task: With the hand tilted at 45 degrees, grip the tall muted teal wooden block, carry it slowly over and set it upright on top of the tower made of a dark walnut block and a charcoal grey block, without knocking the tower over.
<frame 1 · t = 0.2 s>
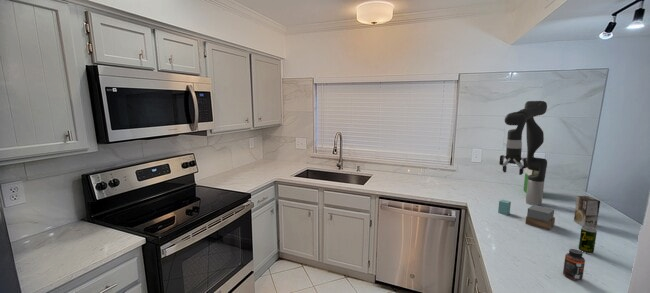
hand: (512, 173, 164), 29 cm above the worktop, tool pointing down, fingers open, 8 cm apart
tower top: (540, 217, 159), point 5 cm above the worktop, touching tower bottom
supplement bottle: (572, 277, 111), on the worktop
tower bottom: (539, 225, 160), on the worktop, touching tower top
teal block: (503, 213, 177), on the worktop
coffee box: (584, 224, 159), on the worktop
beer can: (585, 251, 130), on the worktop
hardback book: (531, 194, 215), on the worktop
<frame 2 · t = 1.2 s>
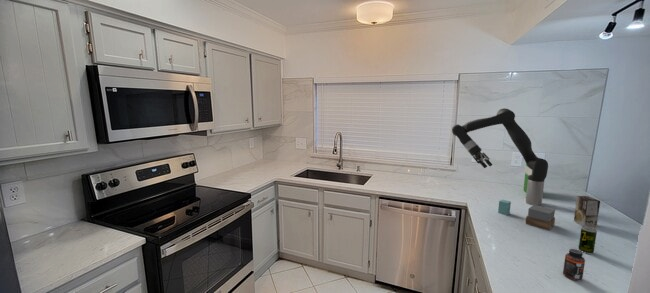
hand: (488, 166, 184), 29 cm above the worktop, tool tilted 45°, fingers open, 8 cm apart
nothing on the worktop moved.
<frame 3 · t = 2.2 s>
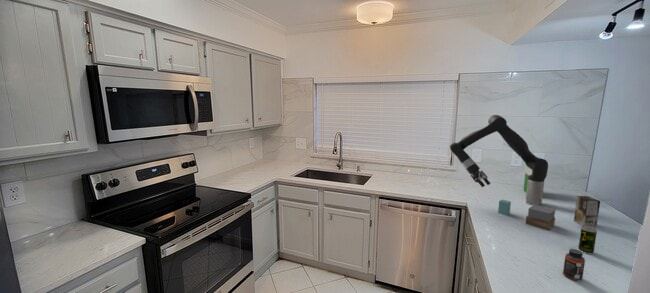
hand: (486, 185, 184), 16 cm above the worktop, tool tilted 45°, fingers open, 8 cm apart
nothing on the worktop moved.
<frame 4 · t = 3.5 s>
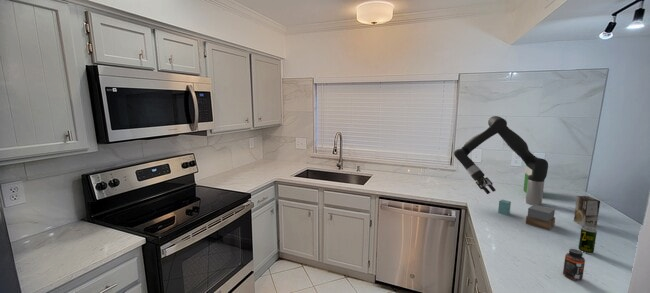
hand: (491, 192, 182), 12 cm above the worktop, tool tilted 45°, fingers open, 8 cm apart
tower top: (540, 216, 159), point 5 cm above the worktop
tower bottom: (539, 224, 160), on the worktop
everything else where it was.
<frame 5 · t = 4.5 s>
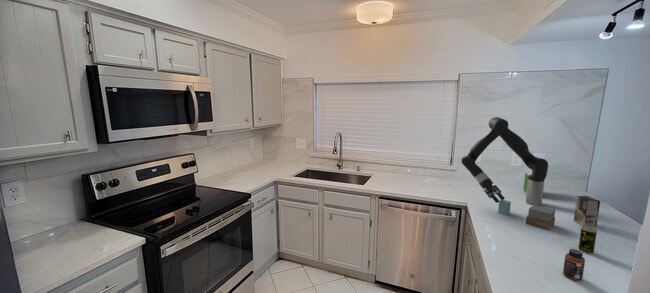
hand: (500, 200, 178), 8 cm above the worktop, tool tilted 45°, fingers open, 8 cm apart
tower top: (541, 217, 159), point 5 cm above the worktop, touching tower bottom
tower bottom: (539, 225, 160), on the worktop, touching tower top
everything else where it was.
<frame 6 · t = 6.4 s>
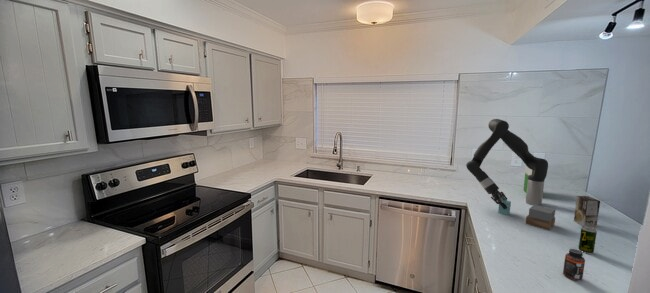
hand: (507, 207, 175), 4 cm above the worktop, tool tilted 45°, fingers closed on teal block, 5 cm apart
teal block: (503, 212, 177), on the worktop, touching gripper
everything else where it was.
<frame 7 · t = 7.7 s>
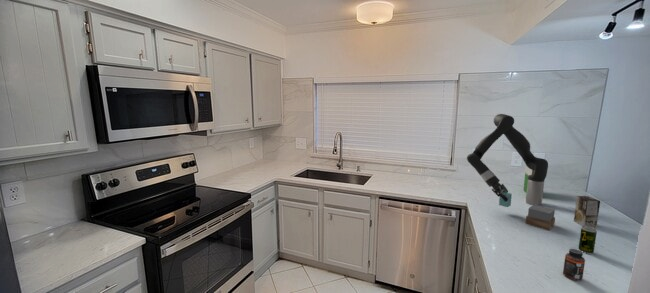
hand: (508, 199, 174), 9 cm above the worktop, tool tilted 45°, fingers closed on teal block, 5 cm apart
teal block: (504, 205, 176), point 5 cm above the worktop, touching gripper
everything else where it was.
when the fingers open (15 cm above the worktop, at t = 16.2 s): teal block stays where it is, resting on tower top.
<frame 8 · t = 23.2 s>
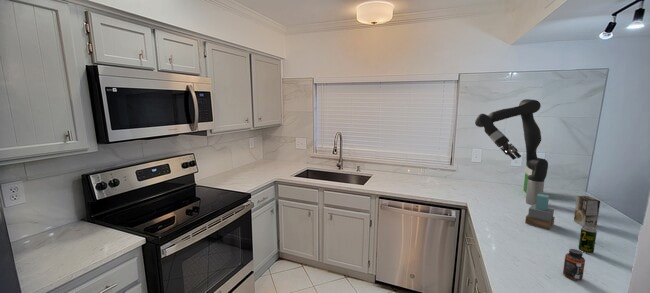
hand: (517, 158, 171), 37 cm above the worktop, tool tilted 45°, fingers open, 8 cm apart
tower top: (540, 216, 160), point 5 cm above the worktop, touching teal block
tower bottom: (539, 224, 160), on the worktop
teal block: (541, 208, 159), point 10 cm above the worktop, touching tower top
everything else where it was.
at the end: teal block 0.2 cm off-centre on the tower bottom, point 10.0 cm above the tower bottom's base; teal block tilted 0°; tower top 0.1 cm off-centre on the tower bottom, point 5.0 cm above the tower bottom's base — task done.
